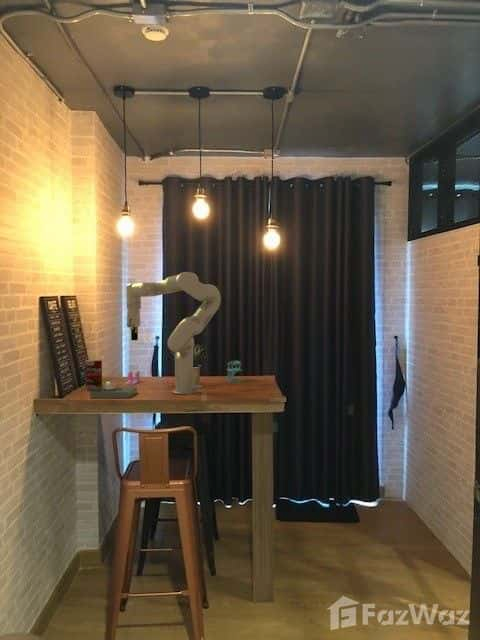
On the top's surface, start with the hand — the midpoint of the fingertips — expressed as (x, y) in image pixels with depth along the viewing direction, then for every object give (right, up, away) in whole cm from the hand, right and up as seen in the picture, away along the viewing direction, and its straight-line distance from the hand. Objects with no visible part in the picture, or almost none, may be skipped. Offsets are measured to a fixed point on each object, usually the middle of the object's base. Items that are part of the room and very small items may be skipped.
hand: (134, 340), depth 277 cm
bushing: (-10, -28, -13) cm, 32 cm away
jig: (-8, -28, -13) cm, 32 cm away
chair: (+54, -25, +25) cm, 64 cm away
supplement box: (-23, -27, +6) cm, 36 cm away
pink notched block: (-6, -26, +20) cm, 34 cm away
